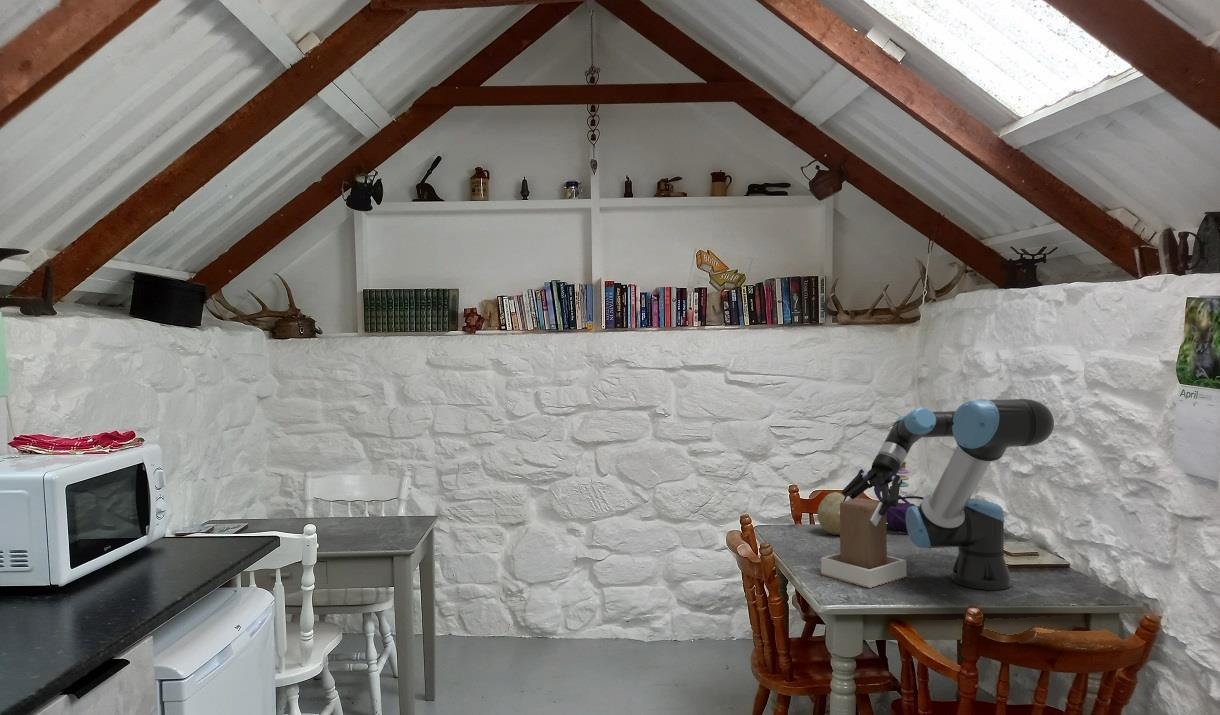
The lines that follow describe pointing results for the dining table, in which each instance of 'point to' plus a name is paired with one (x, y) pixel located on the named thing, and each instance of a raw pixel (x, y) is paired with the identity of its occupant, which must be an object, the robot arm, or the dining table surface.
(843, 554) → the wooden block
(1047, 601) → the dining table surface
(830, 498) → the speckled cream ball
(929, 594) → the dining table surface
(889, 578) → the shallow white tray
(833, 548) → the dining table surface
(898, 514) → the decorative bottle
